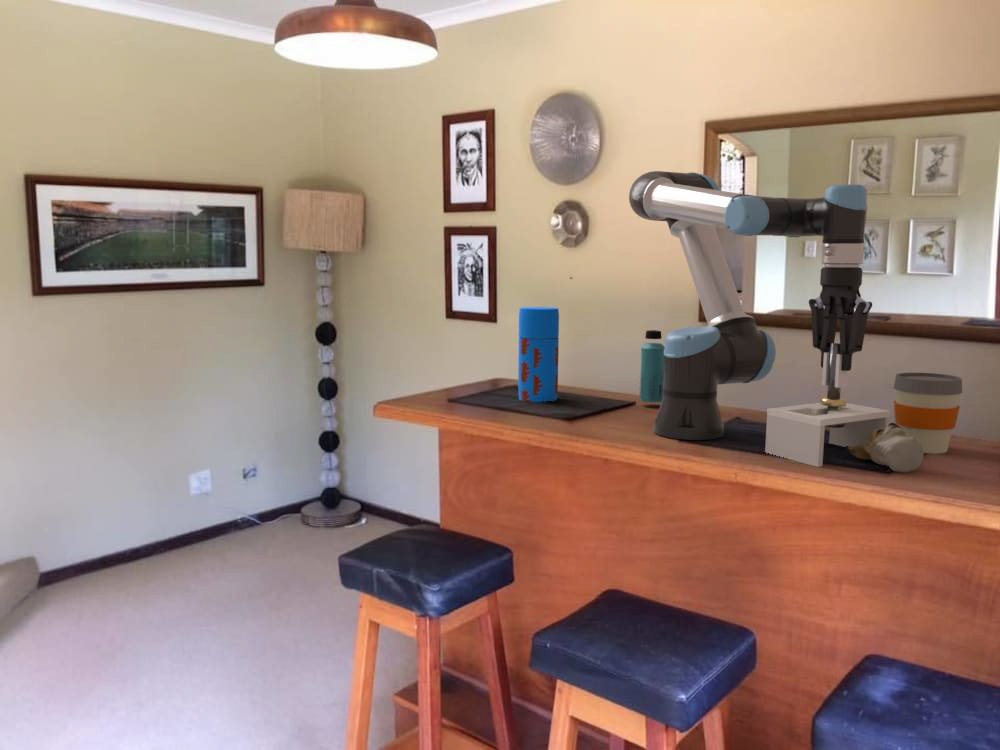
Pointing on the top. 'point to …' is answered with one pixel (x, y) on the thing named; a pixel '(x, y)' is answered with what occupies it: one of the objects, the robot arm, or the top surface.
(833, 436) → the keyhole bracket
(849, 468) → the top surface
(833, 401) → the peg with gold collar
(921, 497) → the top surface
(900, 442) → the ceramic sculpture
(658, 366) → the beverage bottle
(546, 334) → the thermos
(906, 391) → the reusable coffee cup
